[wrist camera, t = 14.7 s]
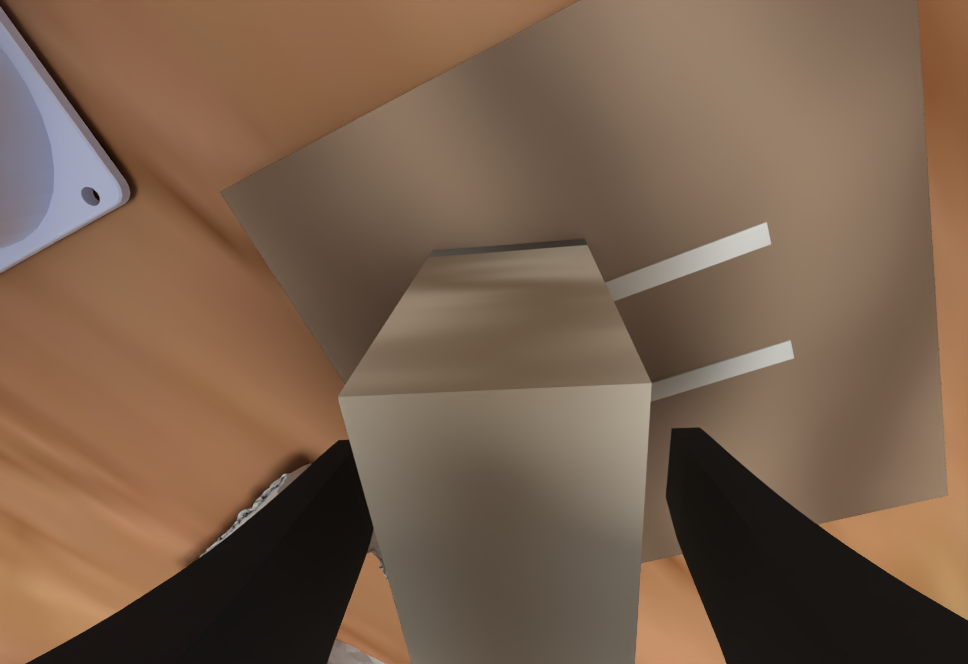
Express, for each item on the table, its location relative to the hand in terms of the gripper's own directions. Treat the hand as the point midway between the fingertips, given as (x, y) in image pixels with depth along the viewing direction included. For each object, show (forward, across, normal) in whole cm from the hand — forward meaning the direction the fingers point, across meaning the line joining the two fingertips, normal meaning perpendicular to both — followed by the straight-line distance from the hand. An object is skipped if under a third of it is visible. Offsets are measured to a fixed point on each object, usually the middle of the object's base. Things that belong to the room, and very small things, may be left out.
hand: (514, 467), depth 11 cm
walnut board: (+5, -3, -1) cm, 6 cm away
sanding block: (+3, 0, 0) cm, 3 cm away
